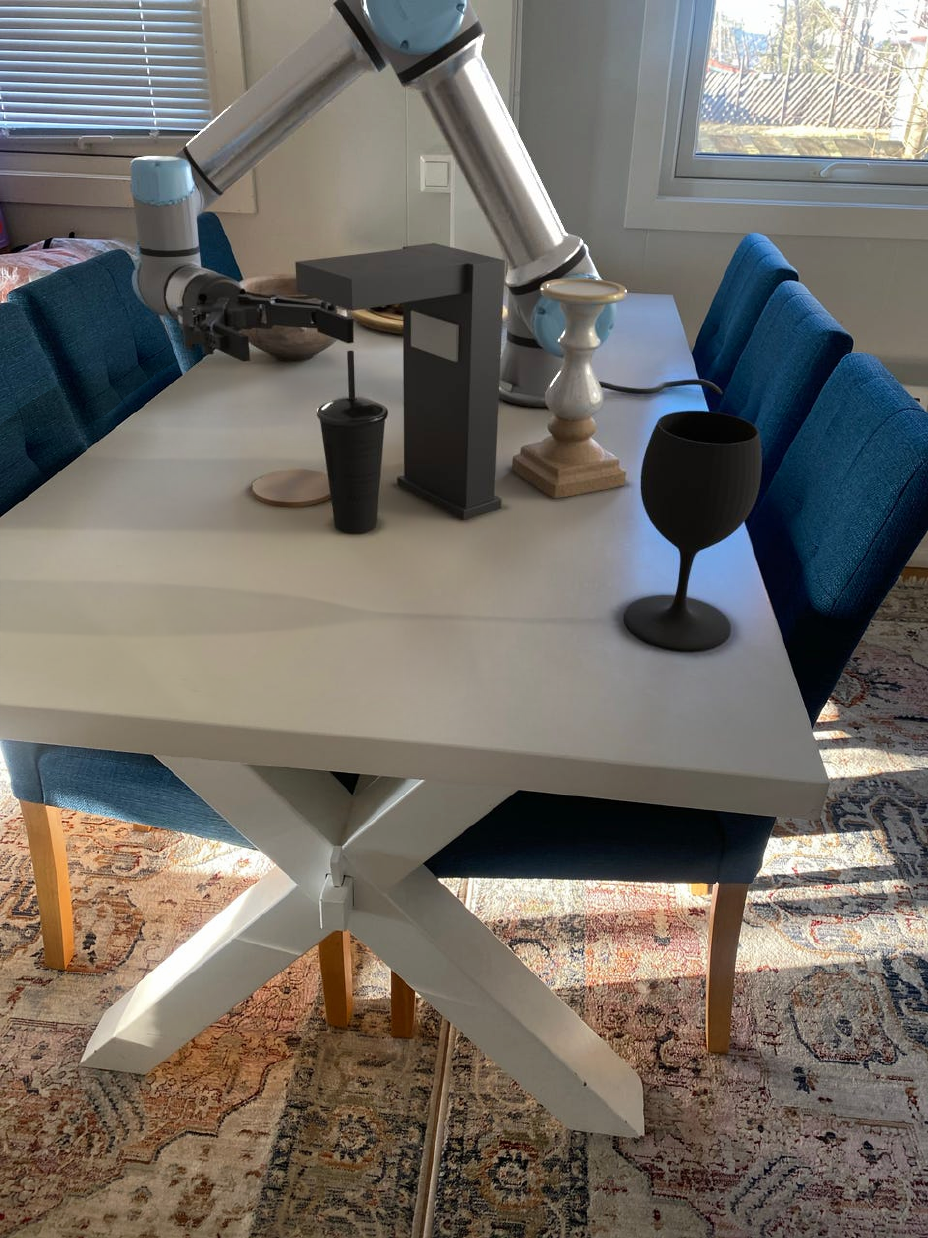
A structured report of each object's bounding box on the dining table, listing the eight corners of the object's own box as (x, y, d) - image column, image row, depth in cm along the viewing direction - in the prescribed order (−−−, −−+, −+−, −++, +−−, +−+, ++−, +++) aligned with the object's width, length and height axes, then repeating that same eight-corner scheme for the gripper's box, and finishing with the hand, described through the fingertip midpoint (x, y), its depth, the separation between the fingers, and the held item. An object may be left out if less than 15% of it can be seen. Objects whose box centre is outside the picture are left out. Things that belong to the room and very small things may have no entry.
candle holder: (554, 499, 120) (569, 300, 108) (509, 468, 128) (519, 280, 116) (626, 485, 124) (649, 292, 112) (579, 456, 133) (596, 274, 121)
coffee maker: (433, 474, 126) (436, 241, 111) (501, 507, 117) (513, 260, 103) (303, 513, 115) (287, 259, 100) (367, 552, 106) (360, 281, 92)
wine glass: (612, 598, 99) (635, 407, 88) (712, 596, 100) (746, 407, 89) (636, 654, 90) (665, 448, 80) (746, 651, 91) (787, 447, 80)
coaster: (341, 474, 125) (341, 470, 125) (332, 507, 116) (332, 503, 116) (260, 472, 125) (260, 468, 125) (245, 505, 116) (245, 501, 116)
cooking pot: (243, 338, 181) (237, 269, 174) (346, 337, 183) (343, 269, 177) (234, 377, 159) (227, 301, 153) (350, 376, 162) (348, 300, 156)
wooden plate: (416, 293, 217) (416, 254, 212) (537, 316, 201) (540, 274, 197) (316, 319, 194) (314, 276, 190) (444, 347, 178) (445, 301, 174)
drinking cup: (378, 543, 108) (375, 364, 98) (313, 535, 109) (303, 358, 99) (396, 515, 115) (395, 344, 105) (334, 508, 116) (327, 339, 106)
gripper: (296, 319, 131) (390, 356, 118) (118, 347, 117) (201, 392, 104) (293, 261, 128) (389, 292, 114) (108, 282, 113) (193, 320, 100)
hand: (300, 339), depth 109 cm, fingers open, 13 cm apart
